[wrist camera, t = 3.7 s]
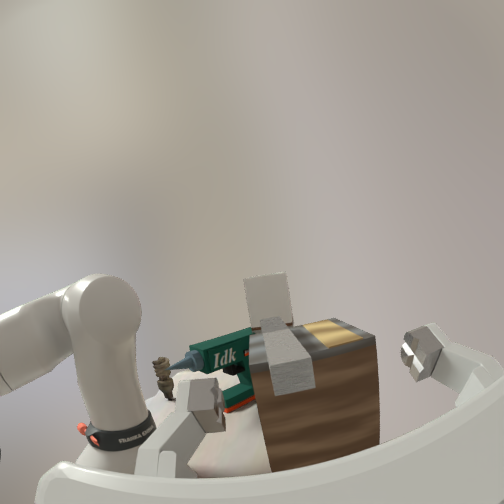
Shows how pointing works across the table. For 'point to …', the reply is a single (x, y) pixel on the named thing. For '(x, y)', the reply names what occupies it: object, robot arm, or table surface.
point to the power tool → (224, 364)
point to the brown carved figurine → (164, 376)
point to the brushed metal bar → (286, 358)
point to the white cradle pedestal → (268, 299)
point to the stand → (320, 397)
